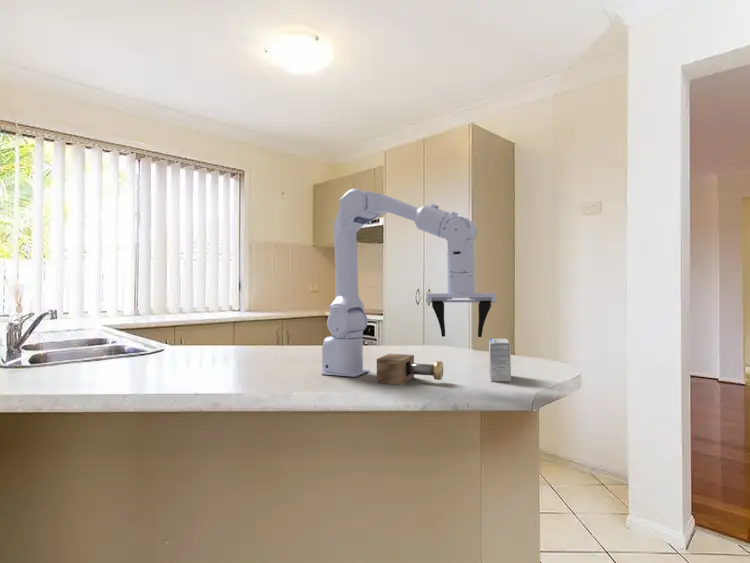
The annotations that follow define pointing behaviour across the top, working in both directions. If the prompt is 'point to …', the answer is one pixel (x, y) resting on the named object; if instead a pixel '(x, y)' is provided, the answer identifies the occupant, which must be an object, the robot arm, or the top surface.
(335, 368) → the robot arm
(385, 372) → the block
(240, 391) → the top surface
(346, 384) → the top surface
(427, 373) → the brass door knob
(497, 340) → the medicine box
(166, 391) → the top surface
